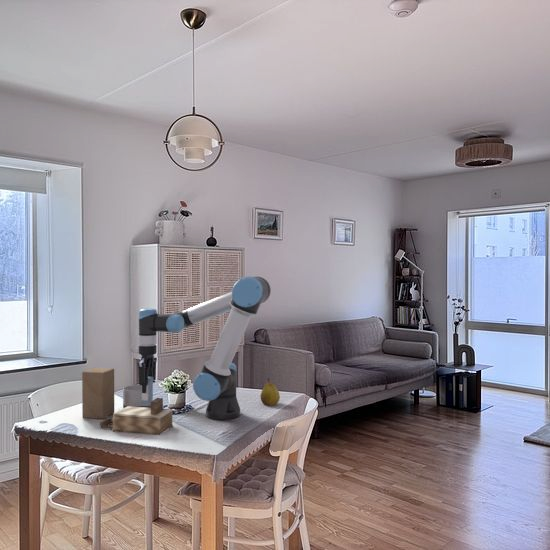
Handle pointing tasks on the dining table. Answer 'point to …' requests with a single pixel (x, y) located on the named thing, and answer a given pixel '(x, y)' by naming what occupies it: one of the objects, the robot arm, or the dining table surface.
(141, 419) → the wooden box
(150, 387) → the light blue block
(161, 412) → the lid
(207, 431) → the dining table surface
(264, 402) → the fruit
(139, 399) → the planter
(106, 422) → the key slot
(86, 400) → the wooden block
